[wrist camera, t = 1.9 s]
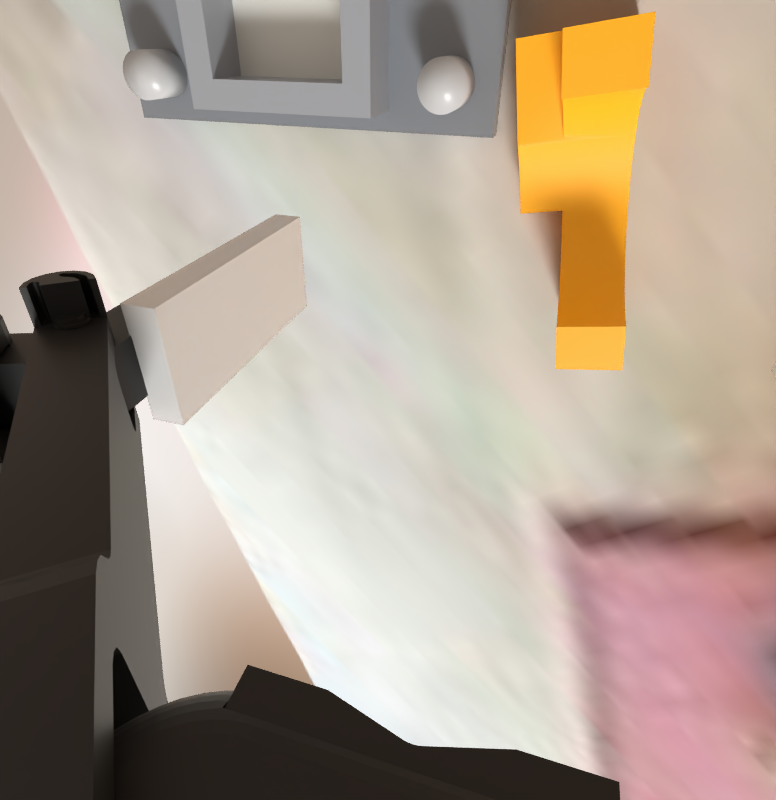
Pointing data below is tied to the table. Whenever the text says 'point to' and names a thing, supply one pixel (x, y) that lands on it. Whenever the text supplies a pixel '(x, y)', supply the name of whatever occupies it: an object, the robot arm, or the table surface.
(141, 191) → the table surface
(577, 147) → the orange bracket
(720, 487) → the table surface
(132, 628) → the robot arm
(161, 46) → the chassis
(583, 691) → the table surface
